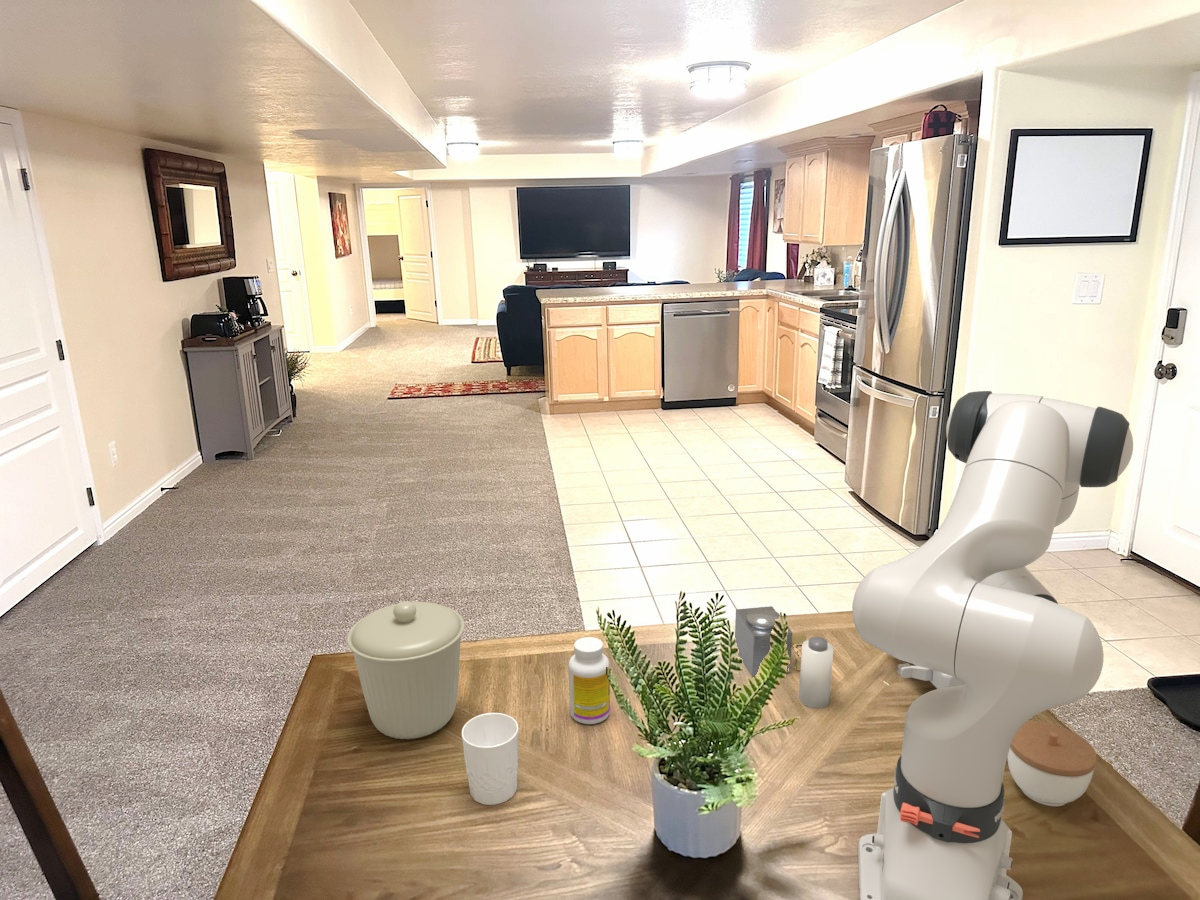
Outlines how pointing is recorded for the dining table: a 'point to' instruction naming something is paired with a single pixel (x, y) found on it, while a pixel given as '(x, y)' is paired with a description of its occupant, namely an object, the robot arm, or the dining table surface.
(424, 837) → the dining table surface
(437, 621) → the canister
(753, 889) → the dining table surface
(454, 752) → the dining table surface
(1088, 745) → the lidded jar
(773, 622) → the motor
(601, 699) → the supplement bottle
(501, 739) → the white cup
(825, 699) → the white bottle
